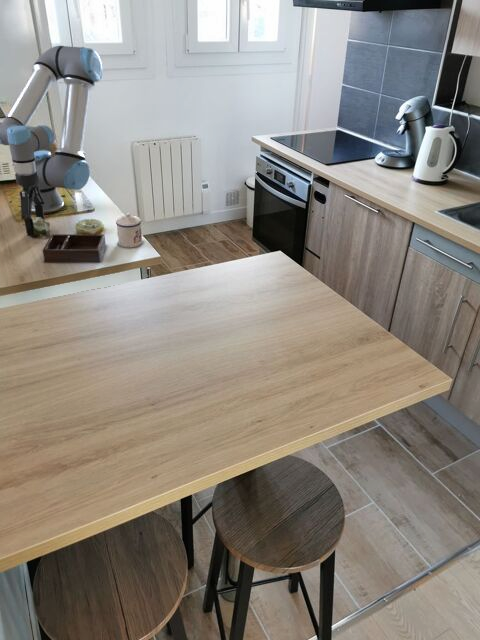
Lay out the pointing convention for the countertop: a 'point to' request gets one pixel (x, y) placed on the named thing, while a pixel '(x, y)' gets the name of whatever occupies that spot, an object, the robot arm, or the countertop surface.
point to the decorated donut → (89, 227)
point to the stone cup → (51, 148)
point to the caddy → (74, 248)
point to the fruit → (41, 226)
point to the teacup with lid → (129, 231)
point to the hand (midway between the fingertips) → (36, 228)
